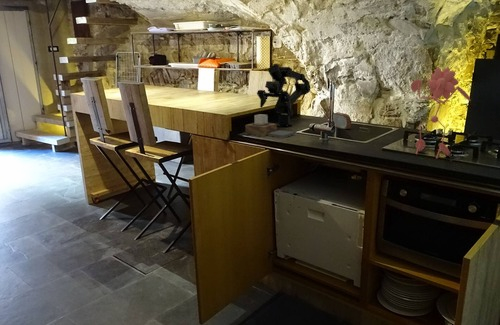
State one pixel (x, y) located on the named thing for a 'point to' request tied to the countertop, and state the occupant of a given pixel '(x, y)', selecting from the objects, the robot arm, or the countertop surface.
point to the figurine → (439, 86)
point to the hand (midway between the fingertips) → (268, 107)
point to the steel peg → (261, 120)
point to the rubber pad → (281, 133)
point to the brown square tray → (260, 129)
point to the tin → (342, 120)
